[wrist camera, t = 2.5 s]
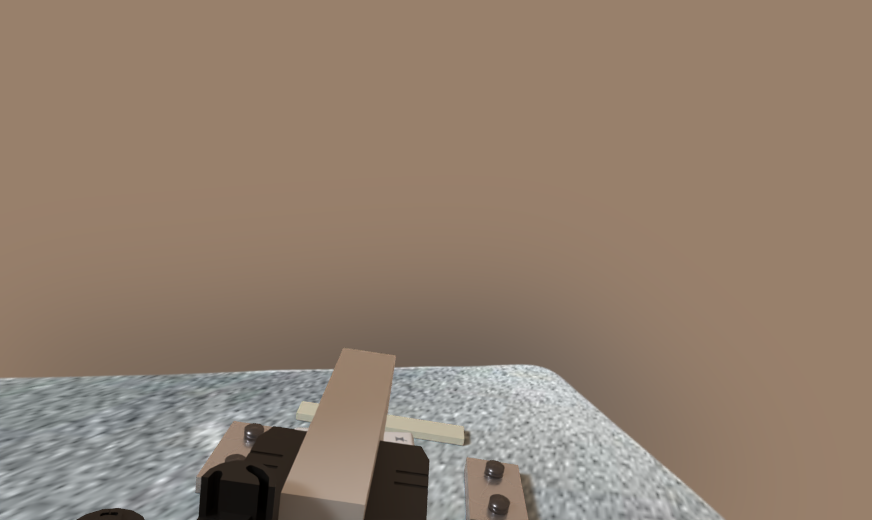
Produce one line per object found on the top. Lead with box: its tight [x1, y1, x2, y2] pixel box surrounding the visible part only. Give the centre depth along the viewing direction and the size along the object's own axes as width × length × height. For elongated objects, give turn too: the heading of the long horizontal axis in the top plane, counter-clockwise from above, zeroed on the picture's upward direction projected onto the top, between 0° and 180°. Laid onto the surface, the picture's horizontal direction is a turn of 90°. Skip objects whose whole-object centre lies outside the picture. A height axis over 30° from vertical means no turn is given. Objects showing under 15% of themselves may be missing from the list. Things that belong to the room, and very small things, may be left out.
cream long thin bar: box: [296, 401, 464, 445], centre depth 50 cm, size 14×2×1 cm, turn 89°
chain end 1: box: [195, 421, 272, 493], centre depth 42 cm, size 4×7×2 cm, turn 179°
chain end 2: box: [464, 457, 528, 520], centre depth 43 cm, size 4×7×2 cm, turn 179°
